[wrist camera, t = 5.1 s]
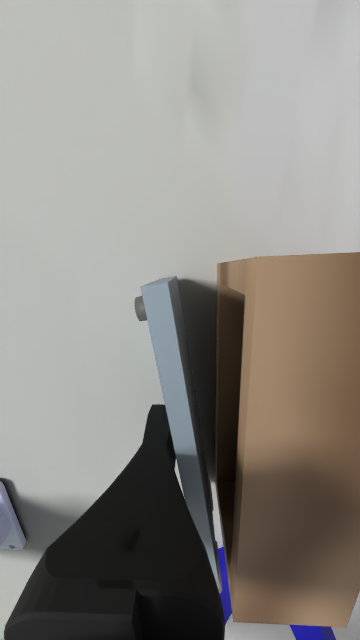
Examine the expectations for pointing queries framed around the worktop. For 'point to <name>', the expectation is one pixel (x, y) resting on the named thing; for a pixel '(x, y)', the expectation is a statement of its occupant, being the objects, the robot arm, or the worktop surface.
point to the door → (180, 403)
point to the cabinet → (289, 436)
